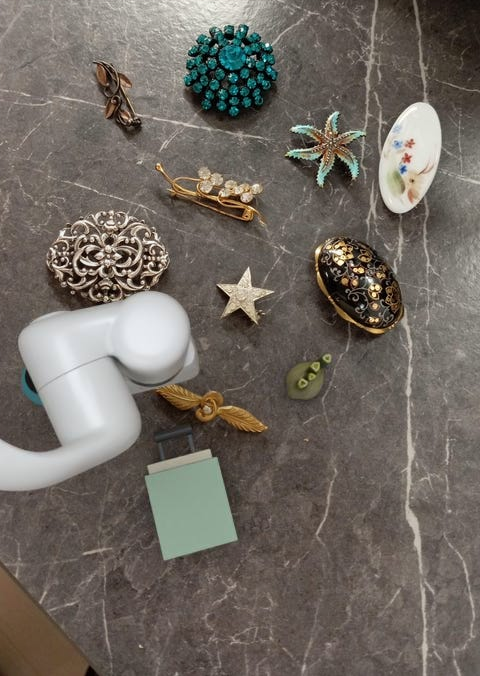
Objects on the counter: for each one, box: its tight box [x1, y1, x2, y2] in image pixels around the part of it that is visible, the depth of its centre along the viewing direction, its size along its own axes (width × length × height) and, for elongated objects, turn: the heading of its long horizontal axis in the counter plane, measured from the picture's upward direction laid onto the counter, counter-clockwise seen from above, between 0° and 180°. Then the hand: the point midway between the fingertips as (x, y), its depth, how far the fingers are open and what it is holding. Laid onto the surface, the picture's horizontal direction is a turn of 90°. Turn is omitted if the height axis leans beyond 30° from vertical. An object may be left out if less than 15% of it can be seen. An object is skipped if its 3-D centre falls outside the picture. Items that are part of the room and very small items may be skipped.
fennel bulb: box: [284, 353, 333, 401], centre depth 119 cm, size 6×5×12 cm
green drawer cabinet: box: [144, 456, 239, 562], centre depth 116 cm, size 10×9×8 cm
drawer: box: [146, 422, 213, 475], centre depth 117 cm, size 13×8×7 cm, turn 15°
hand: (151, 372), depth 110 cm, fingers closed
